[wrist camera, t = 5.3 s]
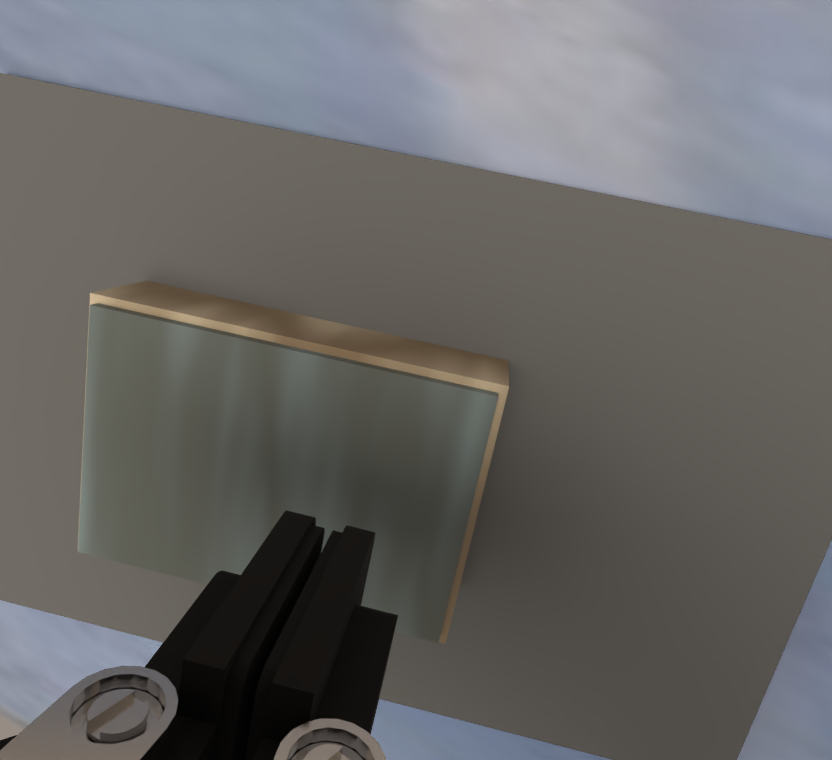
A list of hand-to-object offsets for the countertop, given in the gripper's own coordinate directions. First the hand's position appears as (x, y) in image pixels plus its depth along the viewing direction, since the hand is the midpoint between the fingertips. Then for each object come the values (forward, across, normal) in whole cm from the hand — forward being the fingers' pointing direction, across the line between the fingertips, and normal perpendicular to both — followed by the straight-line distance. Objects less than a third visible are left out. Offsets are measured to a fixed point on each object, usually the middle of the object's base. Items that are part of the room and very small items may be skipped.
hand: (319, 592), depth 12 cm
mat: (+7, 0, 0) cm, 7 cm away
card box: (+5, -3, 0) cm, 6 cm away
